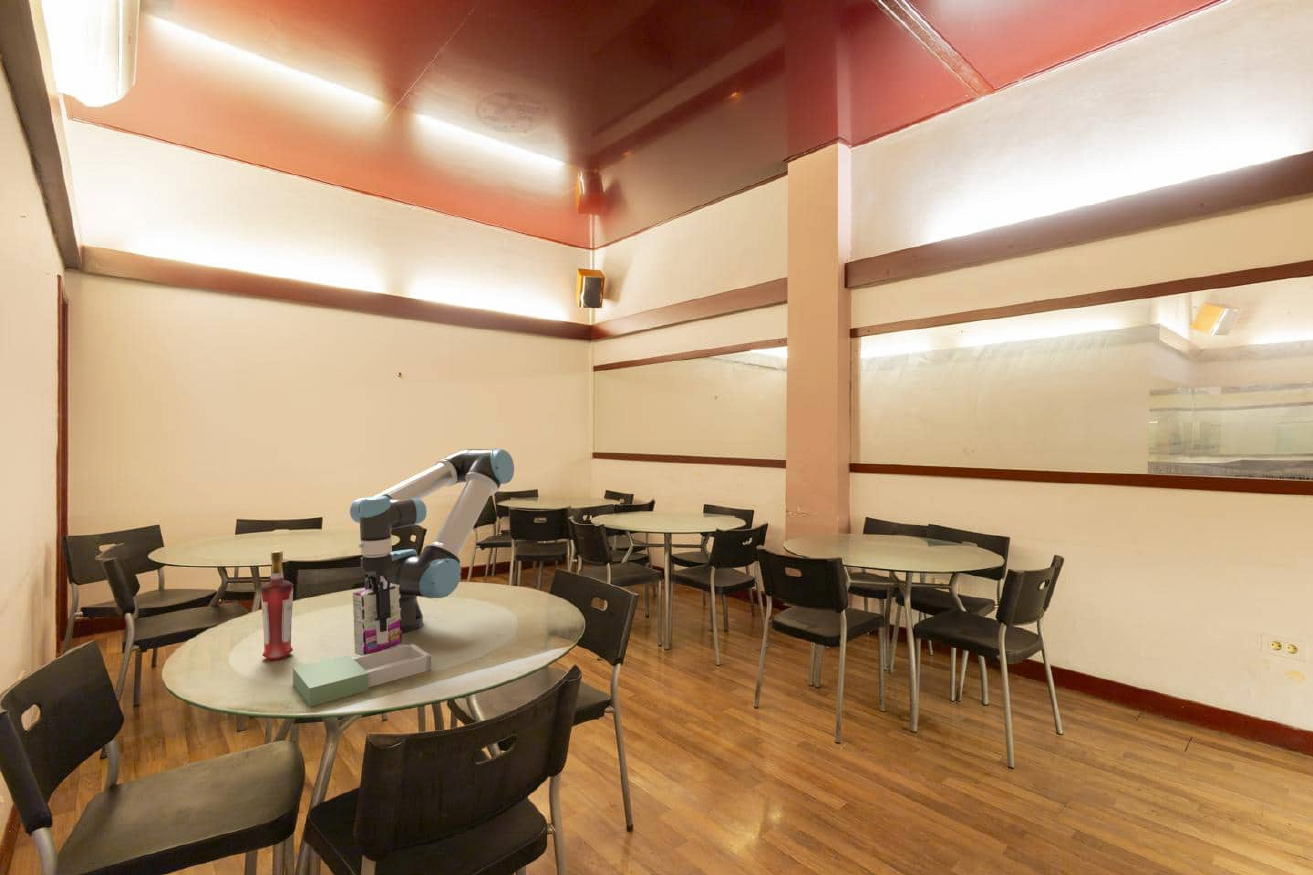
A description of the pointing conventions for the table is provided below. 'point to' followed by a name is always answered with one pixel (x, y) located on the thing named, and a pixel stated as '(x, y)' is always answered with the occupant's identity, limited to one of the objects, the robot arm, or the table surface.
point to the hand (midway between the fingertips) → (378, 639)
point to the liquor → (277, 611)
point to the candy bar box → (367, 625)
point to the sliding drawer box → (357, 673)
